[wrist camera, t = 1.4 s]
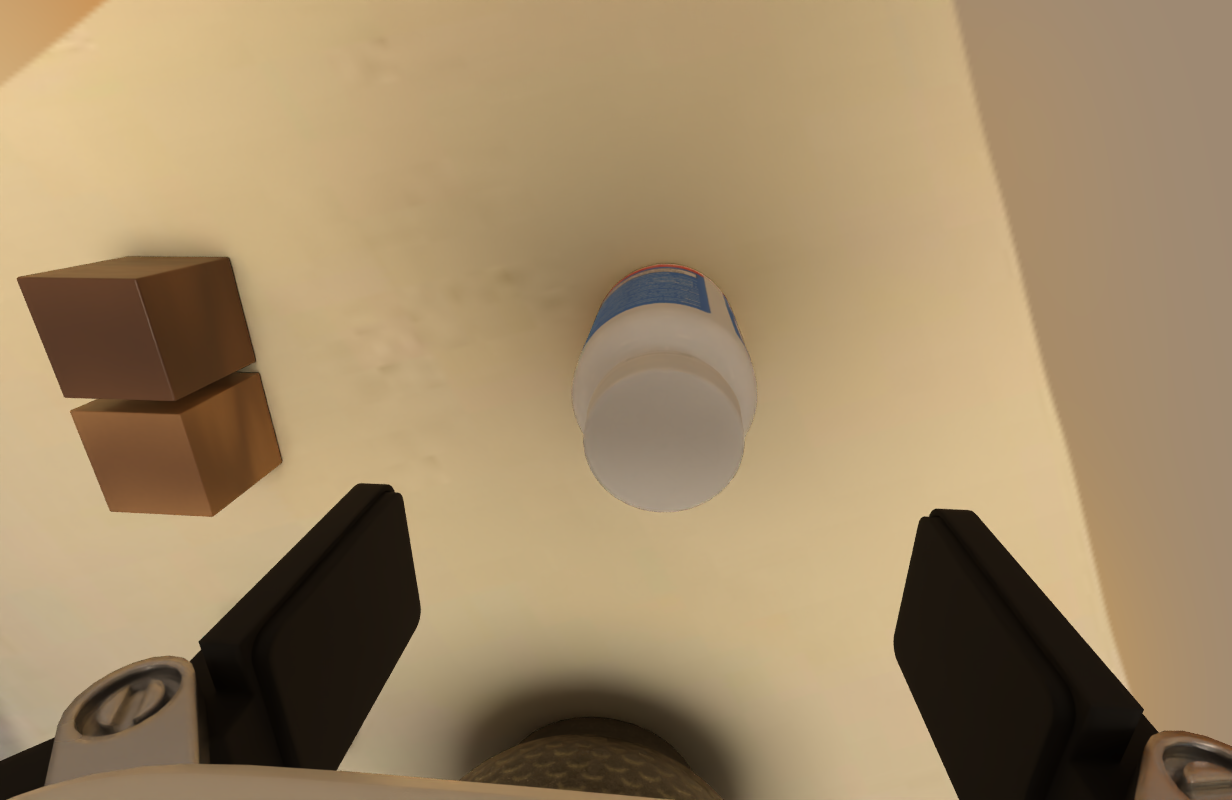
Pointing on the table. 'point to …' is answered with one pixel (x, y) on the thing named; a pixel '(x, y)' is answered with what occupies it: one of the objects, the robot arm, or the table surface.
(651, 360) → the pill bottle
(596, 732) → the planter
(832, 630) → the table surface
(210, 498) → the block
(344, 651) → the robot arm
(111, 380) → the block
